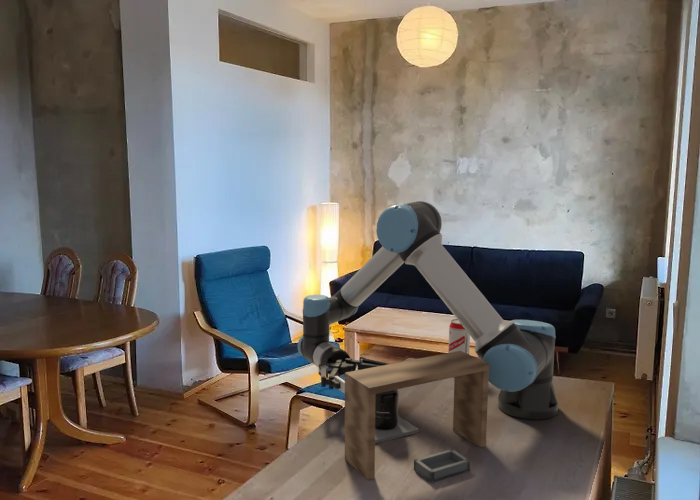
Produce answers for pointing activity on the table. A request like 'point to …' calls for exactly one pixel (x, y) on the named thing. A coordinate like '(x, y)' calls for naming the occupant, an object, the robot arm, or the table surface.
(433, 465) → the trap tray
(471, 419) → the bridge
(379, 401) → the supplement bottle
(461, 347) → the beer can
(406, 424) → the coaster
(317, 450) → the table surface
